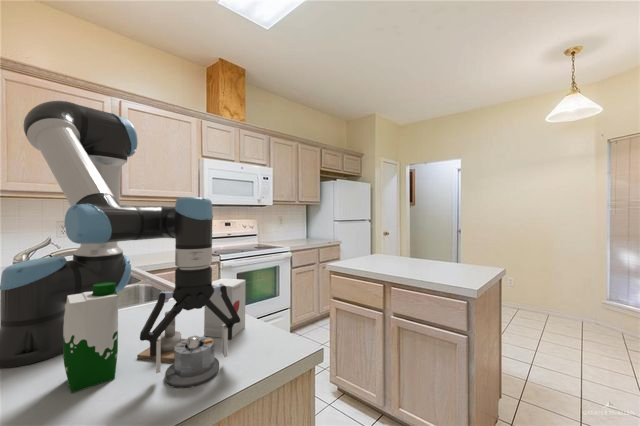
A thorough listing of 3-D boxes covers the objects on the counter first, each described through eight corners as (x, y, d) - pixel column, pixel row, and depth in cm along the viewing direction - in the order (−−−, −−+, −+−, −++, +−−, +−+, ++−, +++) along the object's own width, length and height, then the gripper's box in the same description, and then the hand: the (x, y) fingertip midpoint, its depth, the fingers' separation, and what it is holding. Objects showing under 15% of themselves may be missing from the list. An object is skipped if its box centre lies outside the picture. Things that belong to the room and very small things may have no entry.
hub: (152, 384, 59) (153, 347, 59) (186, 358, 70) (186, 326, 70) (201, 391, 57) (201, 352, 57) (228, 362, 68) (228, 330, 68)
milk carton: (120, 378, 61) (121, 285, 61) (64, 397, 55) (65, 294, 55) (113, 363, 67) (114, 278, 67) (61, 378, 61) (62, 285, 61)
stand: (137, 358, 69) (137, 317, 69) (166, 340, 79) (166, 304, 79) (174, 362, 68) (174, 320, 68) (198, 343, 78) (199, 307, 78)
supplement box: (231, 339, 81) (232, 286, 81) (203, 336, 82) (203, 284, 82) (246, 326, 89) (246, 279, 89) (220, 324, 91) (220, 277, 91)
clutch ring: (175, 381, 58) (175, 355, 58) (173, 363, 65) (173, 339, 65) (216, 370, 62) (216, 346, 62) (210, 354, 69) (210, 332, 69)
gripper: (125, 275, 54) (124, 387, 54) (253, 264, 67) (253, 355, 67) (128, 268, 61) (127, 368, 61) (245, 259, 73) (244, 342, 73)
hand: (193, 361), depth 64 cm, fingers open, 13 cm apart
